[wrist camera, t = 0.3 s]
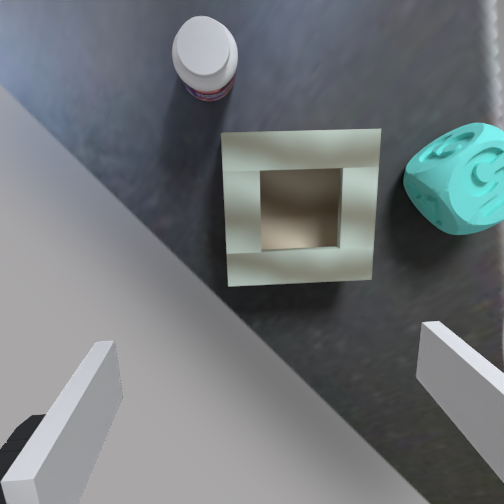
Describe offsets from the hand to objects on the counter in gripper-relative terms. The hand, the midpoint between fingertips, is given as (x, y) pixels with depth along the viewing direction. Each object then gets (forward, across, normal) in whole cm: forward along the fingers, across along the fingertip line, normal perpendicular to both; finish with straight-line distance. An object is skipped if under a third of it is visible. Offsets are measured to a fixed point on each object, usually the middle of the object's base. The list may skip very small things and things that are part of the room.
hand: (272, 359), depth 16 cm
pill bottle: (+26, -3, +16) cm, 31 cm away
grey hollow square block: (+26, +5, +3) cm, 27 cm away
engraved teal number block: (+26, +22, +5) cm, 35 cm away
